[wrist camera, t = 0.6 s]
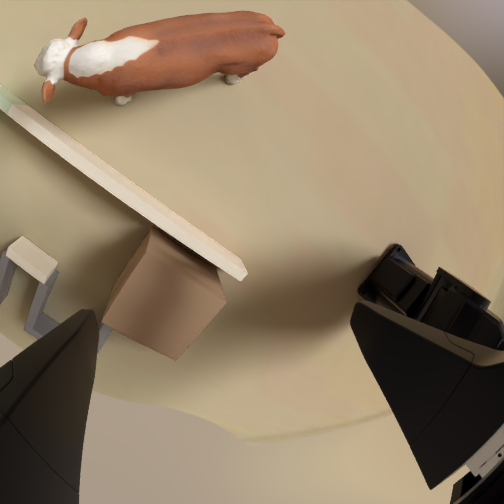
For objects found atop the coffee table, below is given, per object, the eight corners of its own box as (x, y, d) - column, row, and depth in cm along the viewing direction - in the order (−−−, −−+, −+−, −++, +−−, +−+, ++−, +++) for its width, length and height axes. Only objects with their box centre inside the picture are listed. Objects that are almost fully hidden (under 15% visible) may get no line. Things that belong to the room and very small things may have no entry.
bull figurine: (69, 65, 13) (16, 35, 6) (255, 40, 16) (299, -5, 9) (70, 120, 15) (12, 116, 8) (257, 95, 18) (306, 72, 11)
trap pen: (240, 258, 22) (249, 276, 20) (143, 375, 25) (142, 398, 22) (-9, 77, 11) (-28, 73, 8) (-62, 230, 13) (-79, 241, 11)
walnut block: (216, 268, 22) (226, 302, 18) (174, 320, 23) (175, 360, 19) (152, 225, 20) (146, 252, 15) (113, 284, 21) (101, 321, 16)
